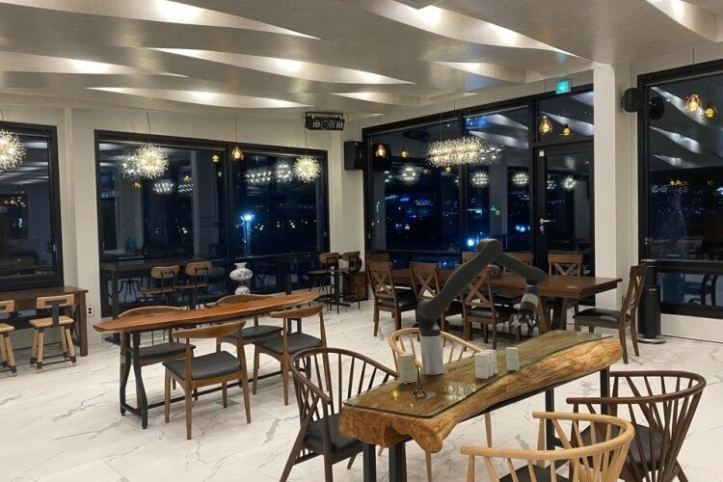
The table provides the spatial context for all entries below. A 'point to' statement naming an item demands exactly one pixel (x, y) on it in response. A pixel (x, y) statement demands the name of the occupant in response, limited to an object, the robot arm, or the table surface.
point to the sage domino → (512, 359)
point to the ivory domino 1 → (481, 366)
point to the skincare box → (407, 368)
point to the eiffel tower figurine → (420, 389)
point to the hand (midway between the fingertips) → (521, 333)
